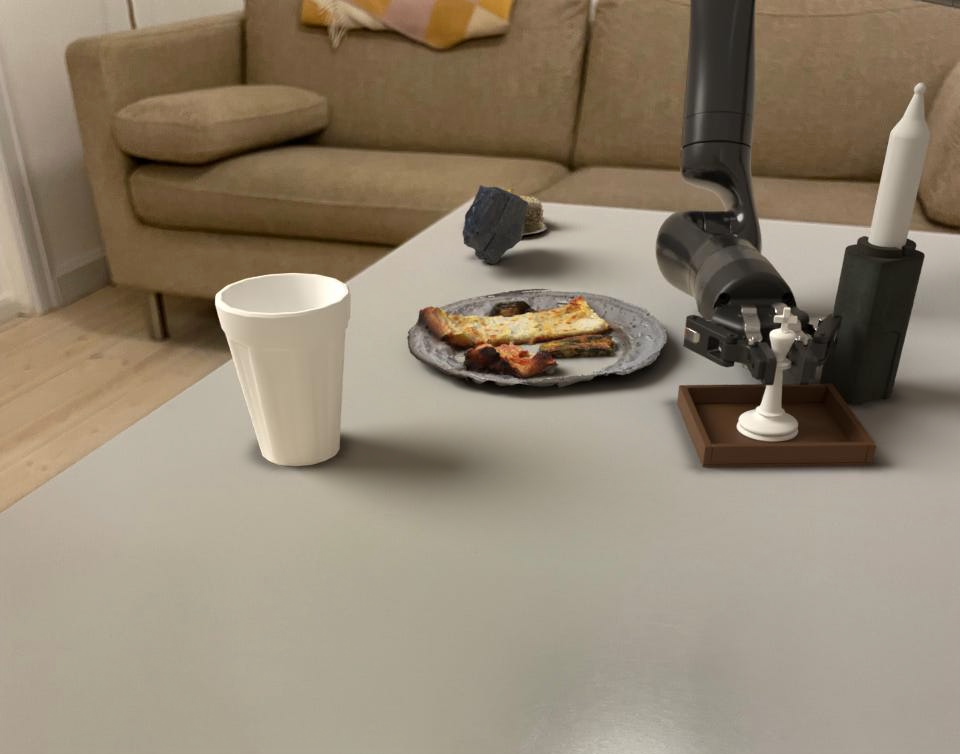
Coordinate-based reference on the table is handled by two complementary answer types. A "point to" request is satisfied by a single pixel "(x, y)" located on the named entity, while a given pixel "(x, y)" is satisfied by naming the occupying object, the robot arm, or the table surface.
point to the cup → (289, 360)
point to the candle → (881, 273)
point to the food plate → (534, 335)
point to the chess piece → (773, 392)
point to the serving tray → (820, 442)
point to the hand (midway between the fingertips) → (788, 373)
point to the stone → (494, 223)
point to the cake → (532, 215)
